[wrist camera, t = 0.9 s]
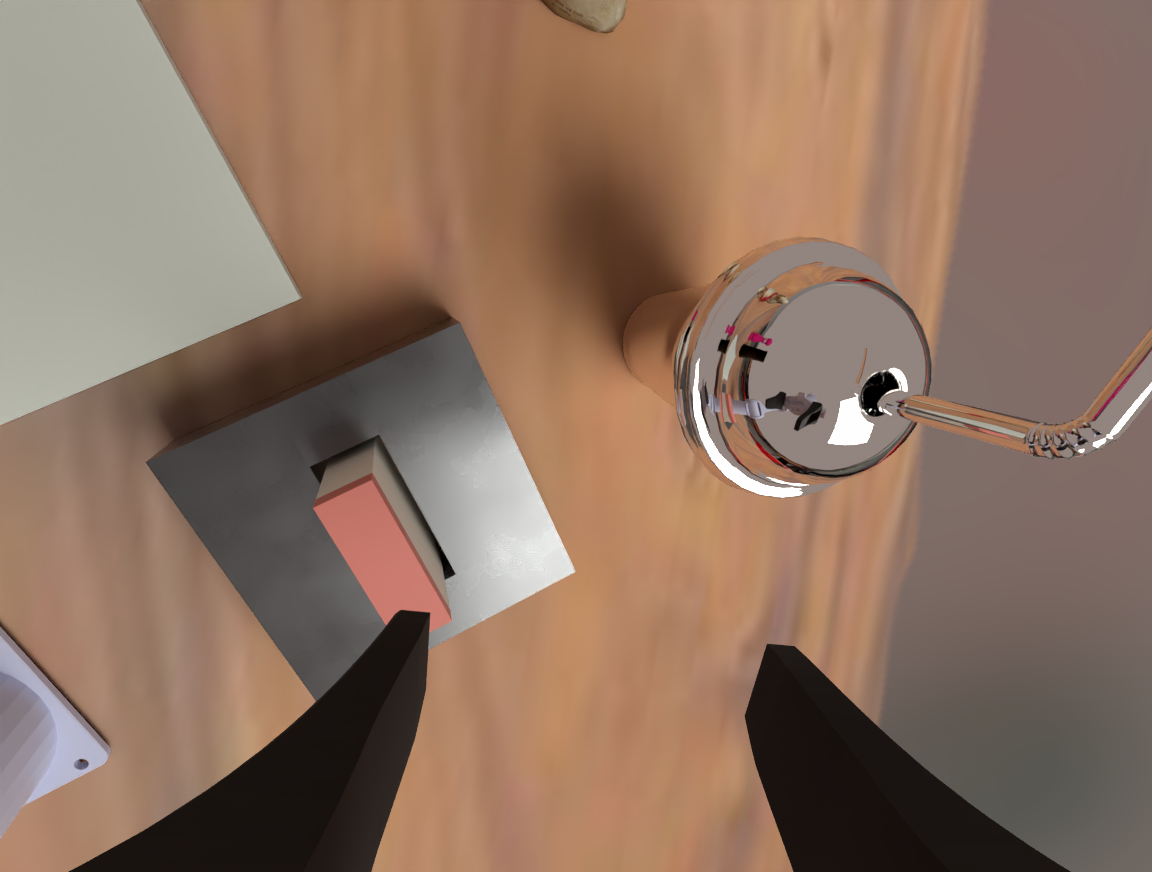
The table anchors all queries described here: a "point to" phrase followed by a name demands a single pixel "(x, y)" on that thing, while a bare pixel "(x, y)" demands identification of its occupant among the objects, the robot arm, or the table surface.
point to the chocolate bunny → (590, 12)
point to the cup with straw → (826, 373)
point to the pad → (112, 206)
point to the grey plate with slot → (428, 466)
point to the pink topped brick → (382, 533)
